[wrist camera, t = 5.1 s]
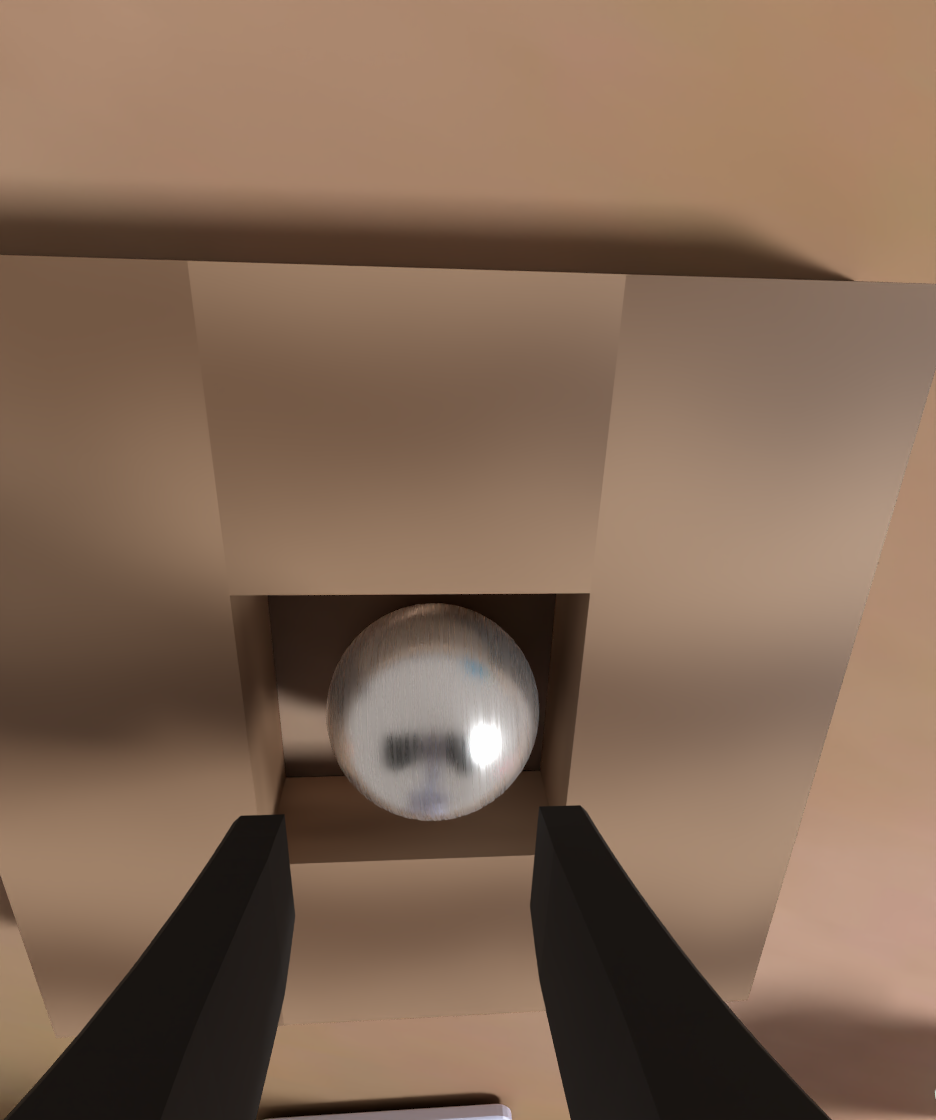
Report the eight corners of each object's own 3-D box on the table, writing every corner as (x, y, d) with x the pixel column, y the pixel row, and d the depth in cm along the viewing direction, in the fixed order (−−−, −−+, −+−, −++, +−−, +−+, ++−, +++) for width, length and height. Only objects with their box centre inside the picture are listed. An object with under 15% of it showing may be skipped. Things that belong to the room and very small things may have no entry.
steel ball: (541, 827, 14) (345, 836, 14) (526, 642, 15) (353, 650, 15) (558, 797, 10) (291, 809, 10) (535, 561, 12) (310, 572, 12)
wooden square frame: (706, 909, 18) (747, 1000, 16) (104, 935, 17) (55, 1037, 15) (857, 281, 12) (960, 285, 10) (-83, 251, 11) (-215, 248, 9)
